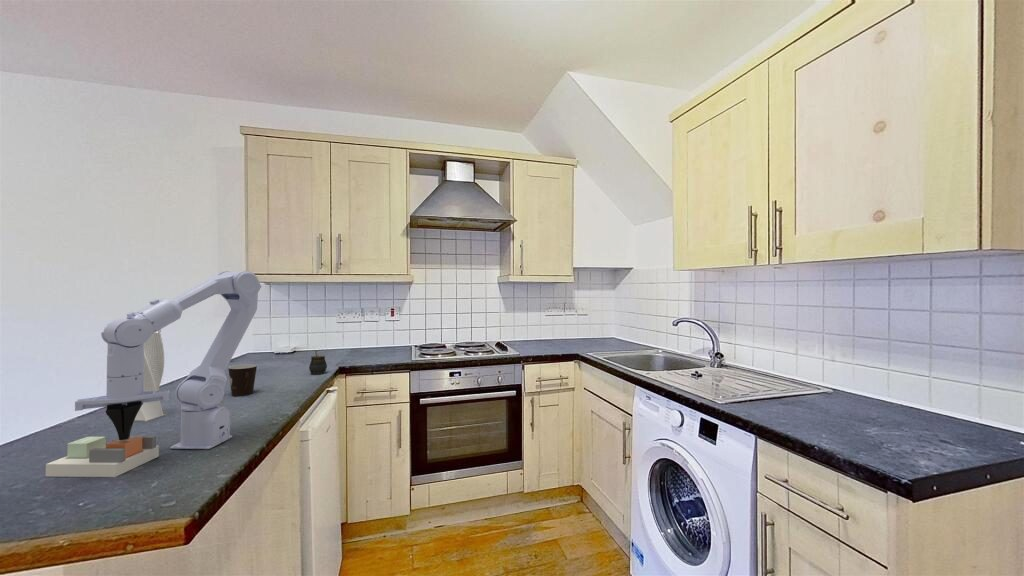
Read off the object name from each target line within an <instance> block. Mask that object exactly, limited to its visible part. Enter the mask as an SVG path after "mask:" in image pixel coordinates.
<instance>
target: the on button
mask: <svg viewBox="0 0 1024 576" xmlns="http://www.w3.org/2000/svg"><path fill="white" fill-rule="evenodd" d="M106 444H107V436H85V437H83V438H80V439H76V440H74V441H71V442H68V443H67V451H66V453H67V455H66V456H67V459H87V458H89V450H91V449H94V448H106Z"/></svg>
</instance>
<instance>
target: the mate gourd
mask: <svg viewBox="0 0 1024 576" xmlns="http://www.w3.org/2000/svg"><path fill="white" fill-rule="evenodd" d="M314 352H315V355H312V356H311V357H310V358H311V359H310V363H309V366H308V369H309V372H310V374H311V375H315V376H316V375H323V374H324V373H325V372H326V370H327V368H328V364H327V362H326V356H325V355H323V354H322V355H318V352H317V350H316V351H314Z"/></svg>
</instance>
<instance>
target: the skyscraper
mask: <svg viewBox="0 0 1024 576" xmlns="http://www.w3.org/2000/svg"><path fill="white" fill-rule="evenodd" d="M161 332H162V329H160V330H158V331H157V332H155V333H153V334H151V335H150V338H149V339H148V341H147V342H146V343H144V381H143V392H146V391H160V390H159V389H160V386H161V384H162V379H163V376H164V375H163V374H164V368H165V349H164V343H163V340H162V339H163V338H162V335H161ZM135 401H136V400H135ZM165 416H169V413H164V412H163V408H162V404H161V401H152V402H143V404H142V406H141V408H140V410H139V411H138V413H137V415H136V417H135V420H134V422H146V423H147V422H149V421H153V420H156V419H158V418H162V417H165Z"/></svg>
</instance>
